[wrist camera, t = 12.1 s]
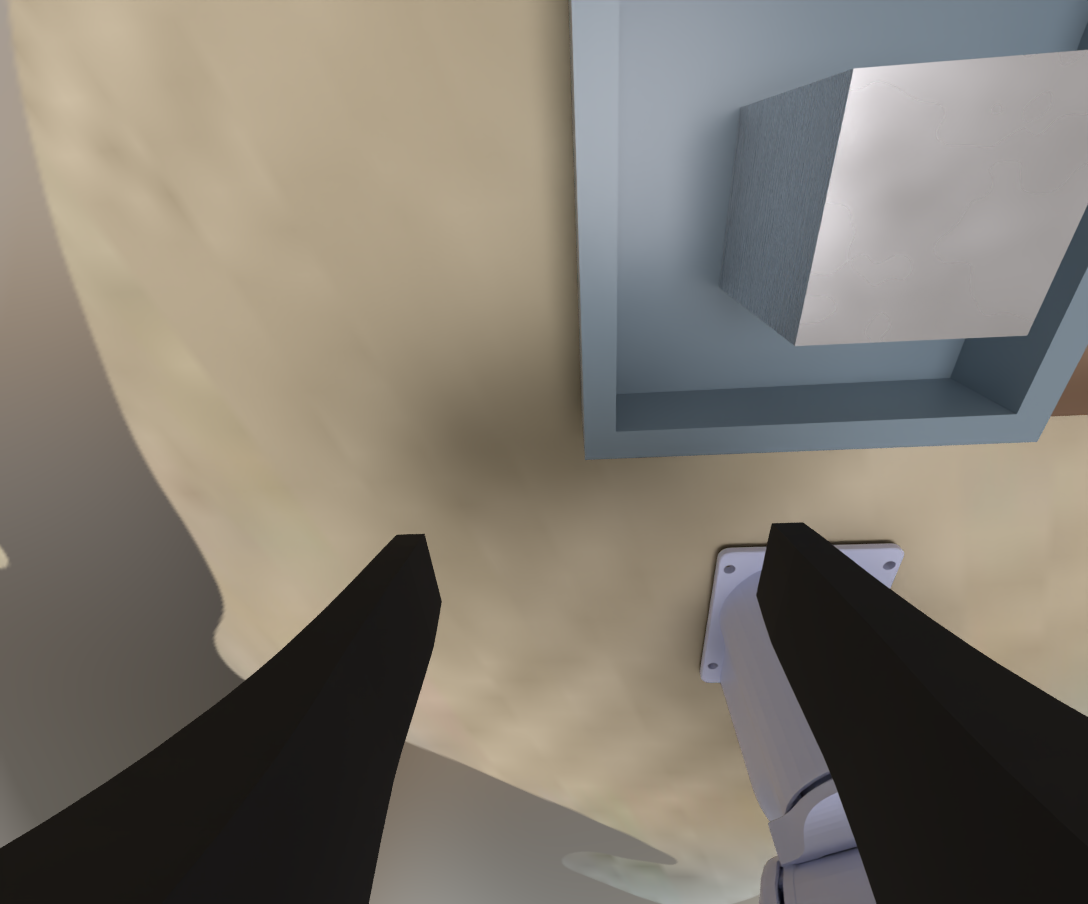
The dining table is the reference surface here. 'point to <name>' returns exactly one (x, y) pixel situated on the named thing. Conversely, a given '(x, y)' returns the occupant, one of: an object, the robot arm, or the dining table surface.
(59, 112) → the dining table surface
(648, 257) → the bin
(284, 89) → the dining table surface
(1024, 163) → the metal block
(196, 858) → the robot arm
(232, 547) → the dining table surface
